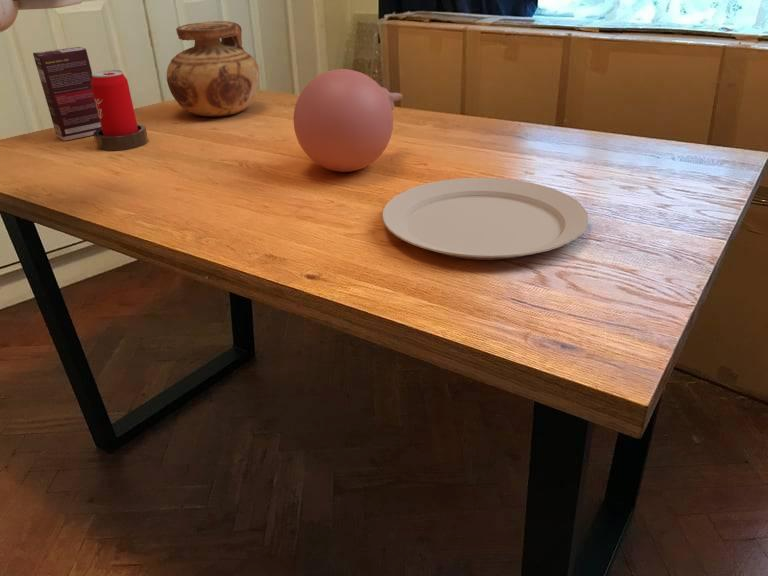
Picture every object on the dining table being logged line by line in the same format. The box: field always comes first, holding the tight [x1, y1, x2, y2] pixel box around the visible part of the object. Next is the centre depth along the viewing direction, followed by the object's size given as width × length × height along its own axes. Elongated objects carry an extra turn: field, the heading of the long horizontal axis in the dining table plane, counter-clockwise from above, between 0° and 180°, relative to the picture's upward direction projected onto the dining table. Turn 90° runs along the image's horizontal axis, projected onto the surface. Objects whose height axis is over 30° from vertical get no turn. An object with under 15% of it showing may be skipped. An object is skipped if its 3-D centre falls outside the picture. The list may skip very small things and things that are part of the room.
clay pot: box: [166, 20, 261, 118], centre depth 138 cm, size 19×19×20 cm
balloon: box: [293, 68, 404, 173], centre depth 103 cm, size 15×20×15 cm
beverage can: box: [91, 69, 138, 136], centre depth 120 cm, size 6×6×12 cm
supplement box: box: [32, 46, 101, 142], centre depth 126 cm, size 9×5×16 cm, turn 130°
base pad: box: [92, 123, 149, 152], centre depth 123 cm, size 9×9×2 cm
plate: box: [382, 177, 590, 261], centre depth 84 cm, size 26×26×2 cm
